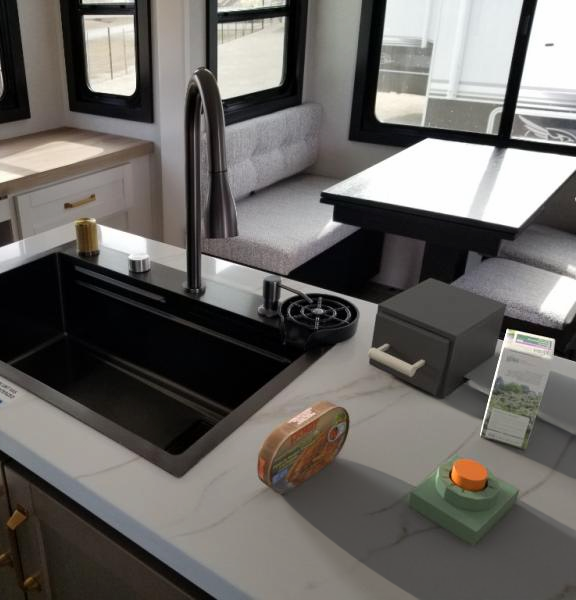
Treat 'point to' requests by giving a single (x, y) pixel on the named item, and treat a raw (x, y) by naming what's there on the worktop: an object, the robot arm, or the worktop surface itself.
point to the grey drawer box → (451, 325)
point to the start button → (469, 475)
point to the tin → (302, 446)
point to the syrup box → (517, 388)
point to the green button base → (462, 503)
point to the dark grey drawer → (409, 352)
